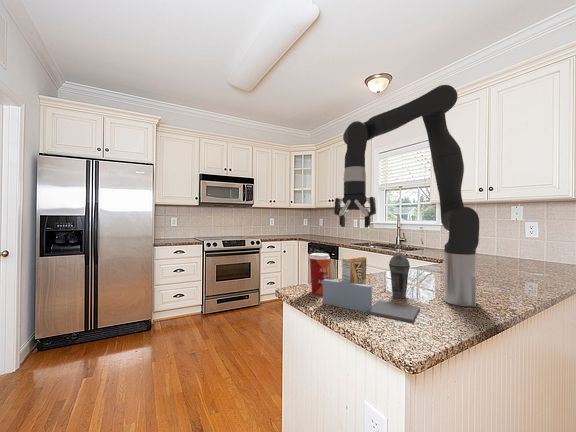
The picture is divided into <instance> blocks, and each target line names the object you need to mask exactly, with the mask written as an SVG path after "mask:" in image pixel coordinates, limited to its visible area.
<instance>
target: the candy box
mask: <svg viewBox="0 0 576 432" xmlns="http://www.w3.org/2000/svg"><path fill="white" fill-rule="evenodd" d="M341 268H342V269H341V281H343V282H350V283H357V284H364V285H367V257H364V256H358V255H357V256H350V257H343V258H342V260H341Z"/></svg>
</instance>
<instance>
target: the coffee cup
mask: <svg viewBox="0 0 576 432" xmlns="http://www.w3.org/2000/svg"><path fill="white" fill-rule="evenodd" d="M308 258H309V265H310V268H309V269H310V283H311V285H310V286H311V293H312V294H313V295H318V296H319V295H320V296H323V280H324V279H329V274H330V273H329V271H330V259H331V257H330V254H329V253H325V252H324V253H322V252H313V253H310V254H309V257H308Z"/></svg>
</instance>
